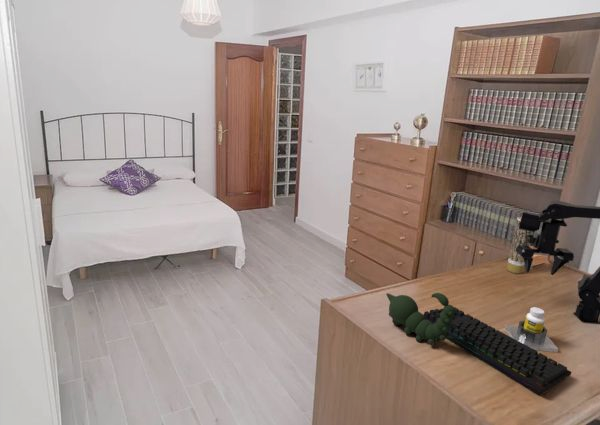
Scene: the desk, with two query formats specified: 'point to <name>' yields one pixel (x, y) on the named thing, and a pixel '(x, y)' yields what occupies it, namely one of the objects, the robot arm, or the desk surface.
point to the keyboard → (503, 352)
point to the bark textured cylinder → (515, 259)
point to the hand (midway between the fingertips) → (539, 273)
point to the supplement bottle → (535, 320)
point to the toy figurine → (421, 318)
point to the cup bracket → (531, 338)
